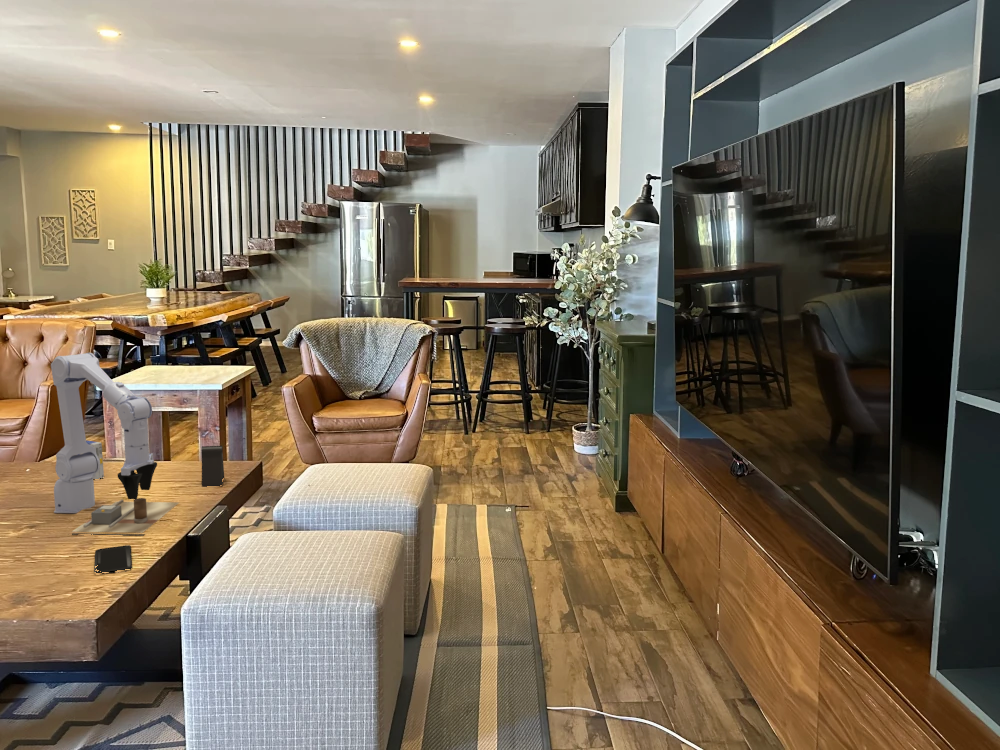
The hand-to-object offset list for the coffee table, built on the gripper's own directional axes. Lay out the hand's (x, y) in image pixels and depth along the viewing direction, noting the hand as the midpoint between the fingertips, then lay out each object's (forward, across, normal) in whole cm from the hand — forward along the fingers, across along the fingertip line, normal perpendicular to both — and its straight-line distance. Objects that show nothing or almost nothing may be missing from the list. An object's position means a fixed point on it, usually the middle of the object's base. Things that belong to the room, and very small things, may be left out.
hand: (139, 494), depth 203 cm
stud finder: (+7, 0, +9) cm, 12 cm away
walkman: (+9, +42, +34) cm, 55 cm away
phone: (+9, -24, -4) cm, 26 cm away
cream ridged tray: (+9, +4, +5) cm, 11 cm away
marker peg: (+8, 0, 0) cm, 8 cm away
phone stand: (+9, +38, -6) cm, 39 cm away
